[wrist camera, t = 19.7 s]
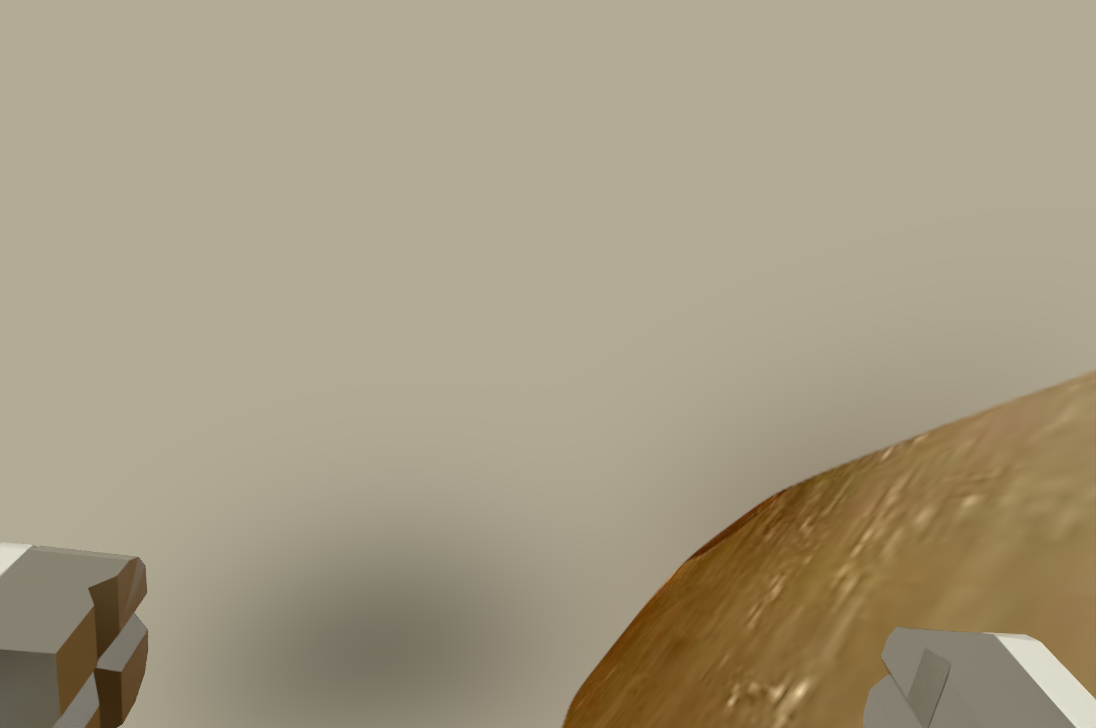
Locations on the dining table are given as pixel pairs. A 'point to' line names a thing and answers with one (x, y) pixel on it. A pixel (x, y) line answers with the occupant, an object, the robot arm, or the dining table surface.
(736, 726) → the dining table surface
